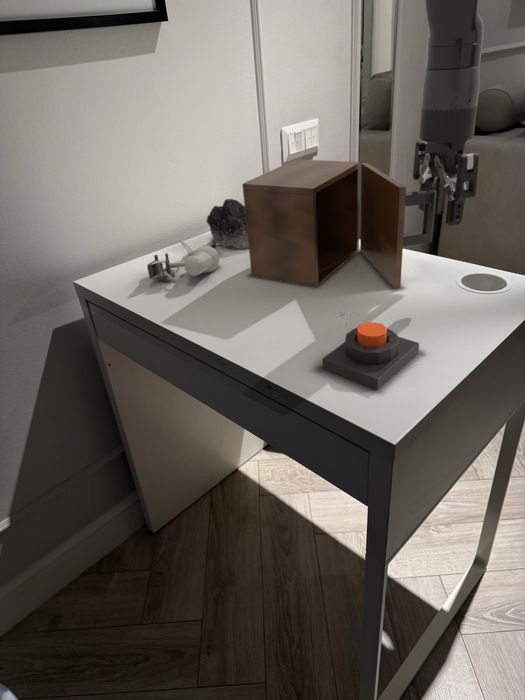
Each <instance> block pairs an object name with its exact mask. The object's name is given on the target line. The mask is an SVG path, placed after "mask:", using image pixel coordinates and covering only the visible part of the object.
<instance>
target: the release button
mask: <svg viewBox="0 0 525 700" xmlns="http://www.w3.org/2000/svg"><path fill="white" fill-rule="evenodd" d="M356 328H357V342H358V344H359V345H362V346H365V347H380V346H384V345H385V344H386V340H387V329H388V328H387V326H385V325H384V324H382V323H379V322H373V321H371V322H370V321H369V322H364V323H361V324H360V325H358V327H356Z"/></svg>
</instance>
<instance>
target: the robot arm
mask: <svg viewBox="0 0 525 700" xmlns="http://www.w3.org/2000/svg"><path fill="white" fill-rule="evenodd" d="M424 6H425V17H426V22H427V30H428V36H427V45H426V59H425V73H424V79H423V84H422V92H421V105H420V119H419V120H420V121H419V135H418V136H419V139H420V140H419V141H416V142H415V146H414V147H415V148H414V157H413V158H414V159H413V169H412V180H414V181H417V186H418V187H419V191H425V190H435V191H436V189H435V188H436V186H435V184H436V182H437V180H440V184H441V186H442V187H443V188H445V190H446V194H447V204H446V205H447V206H446V214H445V215H446V217H445V224H446V225H448V226H450V227H451V226H457V225H460V224H461V223H462V220H463V214H464V207H465V206H464V205H465V201H466V200H467V199H471V198H475V197H476V193H477V182H478V171H479V159H480V156H479V155H480V154H479V153H478V152H475V153H466V143H467V142H468V141H469V140H471V139H472V138H473V137H474V135H475V131H476V129H475V128H476V122H477V121H476V119H477V113H478V105H479V103H478V102H479V97H480V96H479V95H480V85H481V59H482V51H483V43H484V42H483V41H484V33H485V32H484V31H485V29H484V28H485V27H484V21H483V19H482V17H481V16H480V15H479V0H424ZM467 182H468V184H466V183H467ZM467 185H468V187H467ZM454 186H455V188H454ZM418 209H419V210H420V211H423V212H424V204H420V205H418Z"/></svg>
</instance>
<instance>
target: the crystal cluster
mask: <svg viewBox="0 0 525 700" xmlns="http://www.w3.org/2000/svg"><path fill="white" fill-rule="evenodd" d="M206 217H207V218H206V223H207V224H208V225H209V229H210V234H211V235H212V238H213V240H214V242H215V244H217V243H220V245H219V246H222V247H224V248H228V249H229V248H236V249H249V243H248V233H247V224H246V214H245V205H244V204H243V203H241V202H240V201H239V200H236V199H233V198H227V199H224V201H223V203H222V205H220V206H219V205H214V206H213V207H212V208H211V210H210V213H209V214H208V215H207V216H206Z"/></svg>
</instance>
